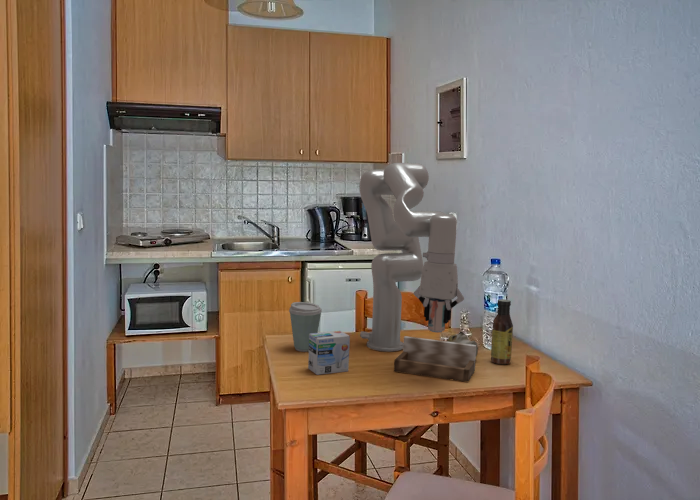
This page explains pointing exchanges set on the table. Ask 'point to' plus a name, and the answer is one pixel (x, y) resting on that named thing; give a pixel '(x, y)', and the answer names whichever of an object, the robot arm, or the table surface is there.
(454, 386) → the table surface
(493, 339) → the sauce bottle
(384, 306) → the robot arm
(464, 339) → the ceramic sculpture
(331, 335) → the light bulb box
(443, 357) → the wooden tray
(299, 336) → the disposable coffee cup
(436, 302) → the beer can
